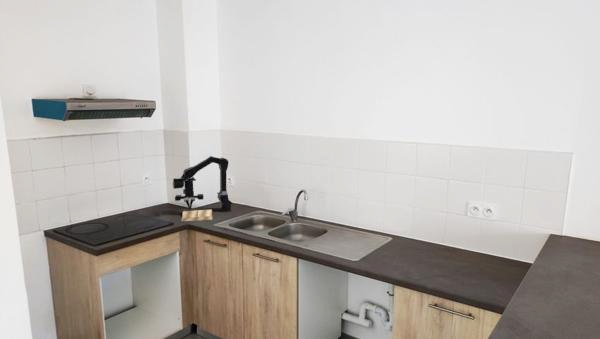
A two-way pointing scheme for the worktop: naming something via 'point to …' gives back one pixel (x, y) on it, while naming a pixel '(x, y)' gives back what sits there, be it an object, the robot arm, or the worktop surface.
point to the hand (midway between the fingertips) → (190, 209)
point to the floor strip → (197, 218)
